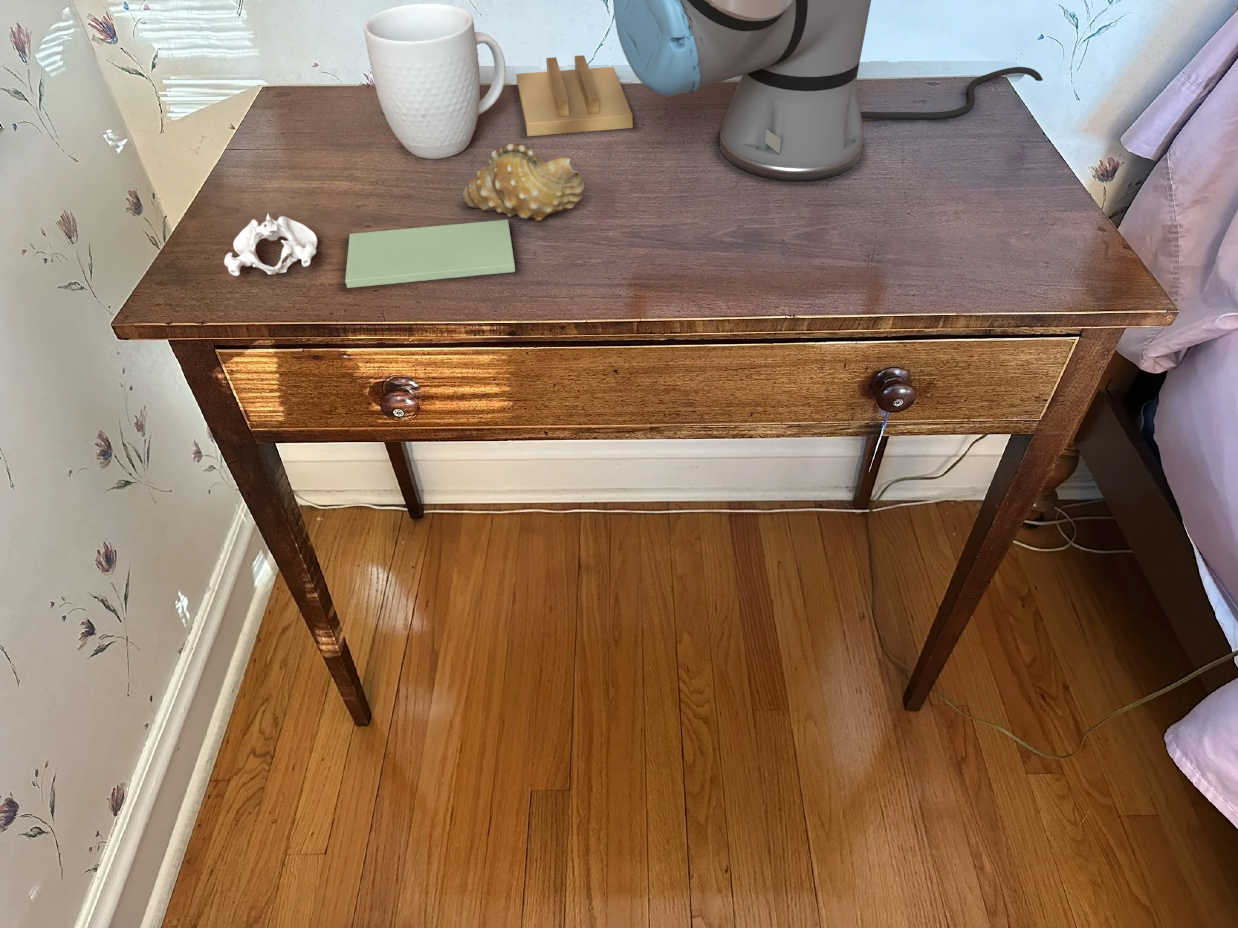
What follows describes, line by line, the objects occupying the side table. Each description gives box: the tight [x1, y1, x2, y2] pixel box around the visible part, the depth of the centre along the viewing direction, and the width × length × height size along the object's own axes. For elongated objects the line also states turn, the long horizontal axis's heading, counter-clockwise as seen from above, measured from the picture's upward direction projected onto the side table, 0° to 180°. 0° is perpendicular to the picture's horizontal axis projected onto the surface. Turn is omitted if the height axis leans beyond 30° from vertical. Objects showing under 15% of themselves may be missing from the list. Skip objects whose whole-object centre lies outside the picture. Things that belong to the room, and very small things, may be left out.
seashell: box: [462, 143, 585, 221], centre depth 86 cm, size 9×8×10 cm
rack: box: [515, 55, 634, 137], centre depth 105 cm, size 12×14×4 cm
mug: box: [363, 2, 507, 160], centre depth 95 cm, size 15×11×13 cm
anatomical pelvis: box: [223, 213, 318, 277], centre depth 81 cm, size 8×4×7 cm
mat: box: [344, 219, 516, 289], centre depth 83 cm, size 15×8×1 cm, turn 99°
